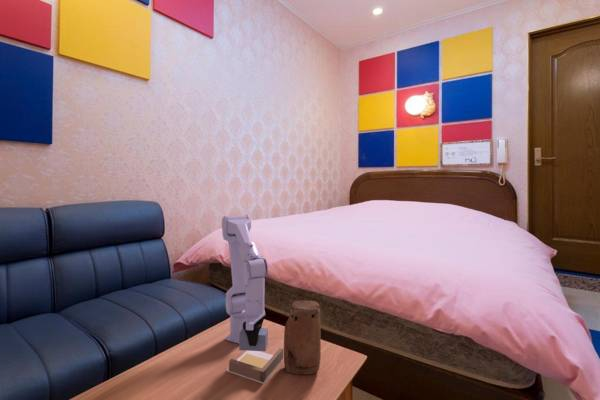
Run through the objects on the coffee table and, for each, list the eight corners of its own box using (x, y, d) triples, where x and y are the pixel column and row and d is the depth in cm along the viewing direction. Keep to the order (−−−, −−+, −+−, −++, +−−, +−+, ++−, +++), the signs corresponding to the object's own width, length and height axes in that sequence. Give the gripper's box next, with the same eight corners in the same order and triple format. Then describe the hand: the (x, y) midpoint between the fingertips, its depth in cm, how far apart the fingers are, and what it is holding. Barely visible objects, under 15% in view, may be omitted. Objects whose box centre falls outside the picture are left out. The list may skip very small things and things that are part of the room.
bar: (267, 343, 90) (267, 328, 90) (265, 351, 86) (265, 335, 86) (242, 342, 91) (242, 327, 91) (239, 350, 87) (239, 334, 87)
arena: (249, 349, 96) (249, 339, 96) (283, 359, 91) (283, 348, 91) (226, 371, 85) (226, 360, 85) (263, 383, 80) (263, 372, 80)
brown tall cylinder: (317, 360, 91) (318, 298, 90) (321, 376, 84) (322, 309, 82) (283, 361, 90) (284, 299, 89) (283, 377, 83) (284, 310, 81)
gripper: (247, 288, 95) (247, 328, 96) (235, 307, 81) (235, 354, 81) (268, 289, 95) (268, 329, 96) (260, 309, 80) (259, 355, 81)
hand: (254, 341), depth 88 cm, fingers closed on bar, 4 cm apart
